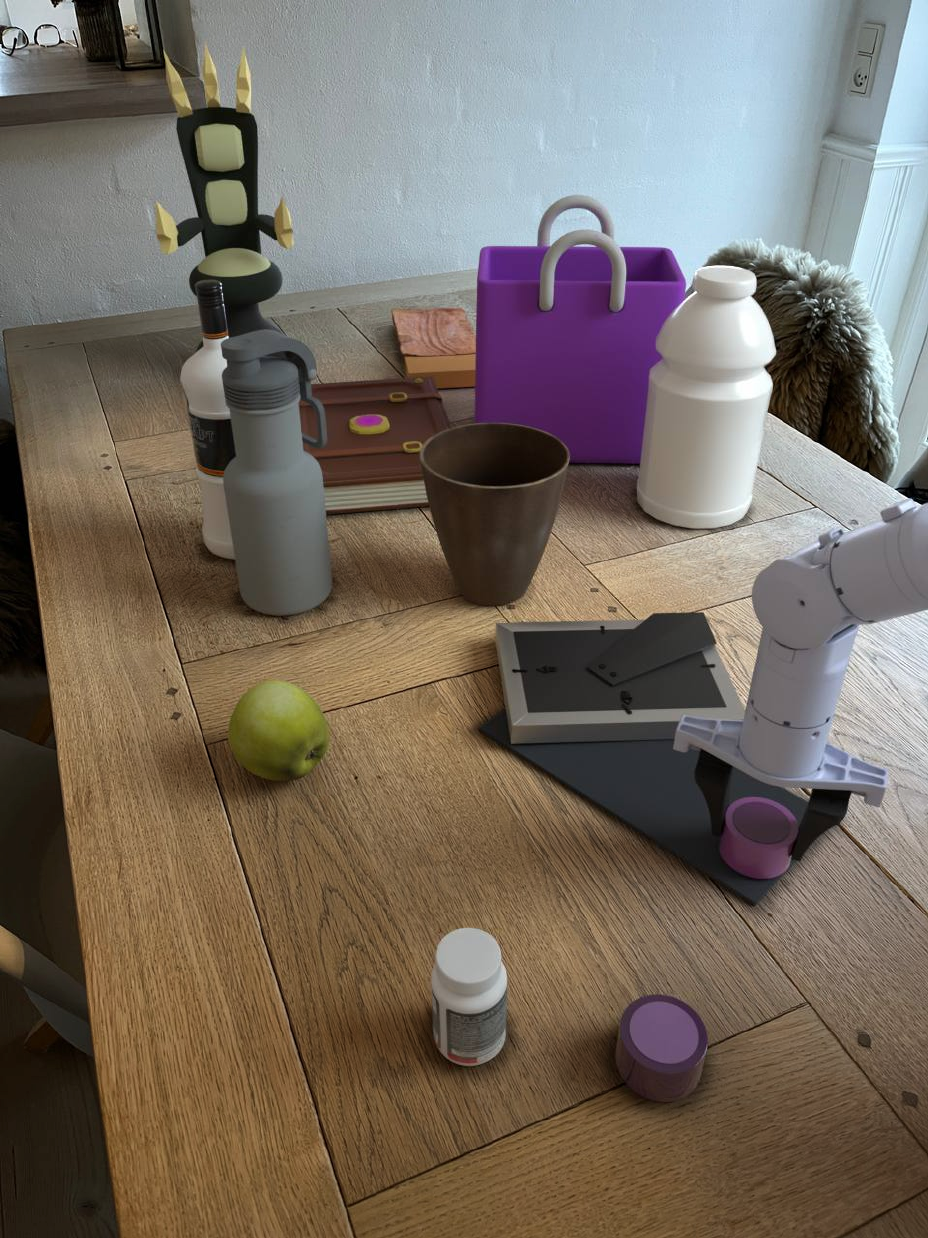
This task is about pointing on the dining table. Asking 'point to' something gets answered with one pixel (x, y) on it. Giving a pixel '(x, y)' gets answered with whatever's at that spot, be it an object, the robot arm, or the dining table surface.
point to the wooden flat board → (437, 345)
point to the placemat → (652, 795)
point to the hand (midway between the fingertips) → (758, 839)
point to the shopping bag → (573, 335)
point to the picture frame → (611, 678)
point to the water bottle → (275, 475)
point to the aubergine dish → (661, 1047)
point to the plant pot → (493, 504)
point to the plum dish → (758, 837)
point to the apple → (278, 731)
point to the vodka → (210, 417)
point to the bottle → (707, 404)
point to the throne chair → (226, 200)
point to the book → (374, 441)
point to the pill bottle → (469, 997)
